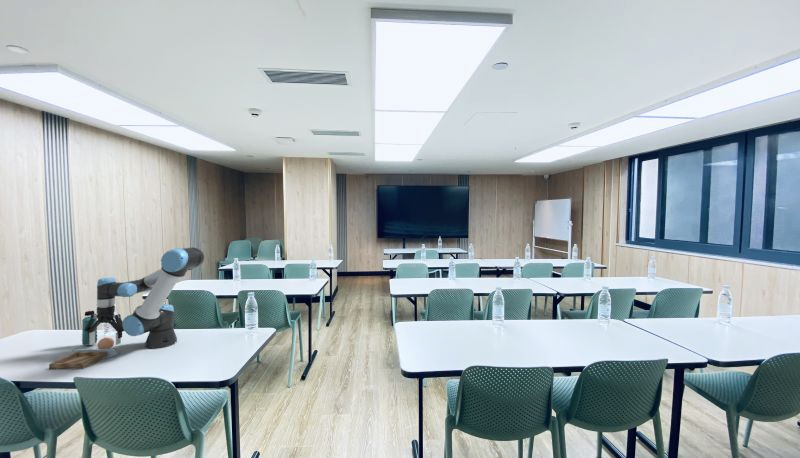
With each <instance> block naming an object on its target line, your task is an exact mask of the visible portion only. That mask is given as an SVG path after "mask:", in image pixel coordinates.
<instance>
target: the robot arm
mask: <svg viewBox="0 0 800 458" xmlns="http://www.w3.org/2000/svg"><path fill="white" fill-rule="evenodd" d="M204 261H205V253H204V252H203V251H202V250H201V249H200V248H198V247H184V248H183V247H182V248H174V249H173V248H172V249H169V250H167V251H165V253H163V255H162V256H161V259H160V264H161V268H159V269H157V270H156V271H154V272H152V273H150V274H148V275H145V276H144V277H143V278H139V279H135V280H130V281H125V282H117V281H116V278H114V277H101V278H99V279H98V280H97V284H96V313H95V314H93V315H91V318H90V320H89V322H88V324H87V326H86V328H85V329H84V331H87V332H88V338H89V345H88V346H91V345H94V344H93V343H95V331H94V330H95V328H96V327H97V328H98V327H99V325H101V324H109V325H111V327H112V328H113V329H114V330H115V331H116V332H115V346H116V345H117V346H118V345H120V344H121V343H122V338H123V332H125V334H126V335H128V336H129V337H137V336H142V335H143V334H144V335H145V333H148V335H147V337H146V340H145V342H144V343H145V348H146V349H160V348H166V346H167V347H170V346H172V344H173V345H175V344H176V343H177V342H178V337H177V334H176V331H175V329H174V325H175V324H174V323H175V322H174V321H175V318H174V317H175V316H174V315H175V314H174V313H175V309H174V308H175V307H174V306H173V304H164V303H165V302H166V300H167V299H168V297H169V295H170V294H171V292H172V291H173V289H174V288H175V286H176V284H177V283H178V281H179V279H180V278H183V277H184V276H185V275H186V274H187V272H189V271H192V270H194V269H196V268H198V267H200V266H201V265H203V263H204ZM144 292H148V294H147V296H146V297H145V299H144V301H143V302H142V303H141V305H138V306H136V307H135V309H134V310H133V312H132V314H129V315H127V316H125V317H124V318H123V320H122V317H121V314H119V313H118V314H115V312H116V310H115V309H116V307H115V304H116V297H123V298H126V297H127V298H130V297H134V295H136V294H139V293H144ZM96 318H97V321H96V323H95V324H94V325H93V323H94V321H95V320H96ZM92 325H93V326H92ZM175 342H176V343H175ZM174 343H175V344H174ZM95 344H96V343H95ZM169 345H170V346H169Z"/></svg>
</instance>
